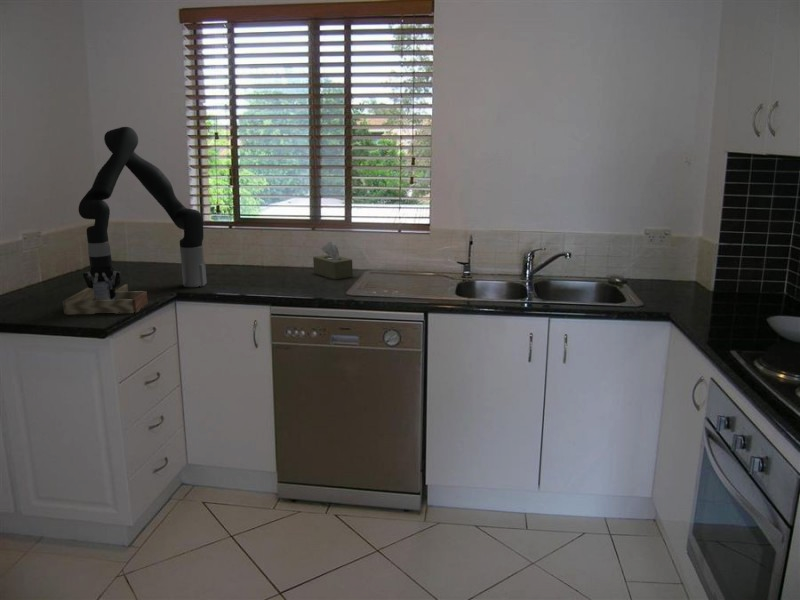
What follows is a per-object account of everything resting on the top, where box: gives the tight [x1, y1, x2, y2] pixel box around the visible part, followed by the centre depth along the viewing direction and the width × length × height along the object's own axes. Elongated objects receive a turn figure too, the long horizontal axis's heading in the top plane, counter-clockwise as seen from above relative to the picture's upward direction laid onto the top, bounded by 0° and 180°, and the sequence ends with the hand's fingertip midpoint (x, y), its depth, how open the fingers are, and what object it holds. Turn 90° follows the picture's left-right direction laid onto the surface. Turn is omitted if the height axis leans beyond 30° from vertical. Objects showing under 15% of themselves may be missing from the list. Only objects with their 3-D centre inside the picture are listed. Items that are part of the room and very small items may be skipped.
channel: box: [62, 283, 149, 315], centre depth 255 cm, size 26×27×5 cm
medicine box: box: [93, 280, 115, 300], centre depth 248 cm, size 8×4×9 cm, turn 4°
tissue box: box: [312, 241, 354, 280], centre depth 304 cm, size 19×10×16 cm, turn 39°
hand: (105, 298), depth 249 cm, fingers closed on medicine box, 4 cm apart
